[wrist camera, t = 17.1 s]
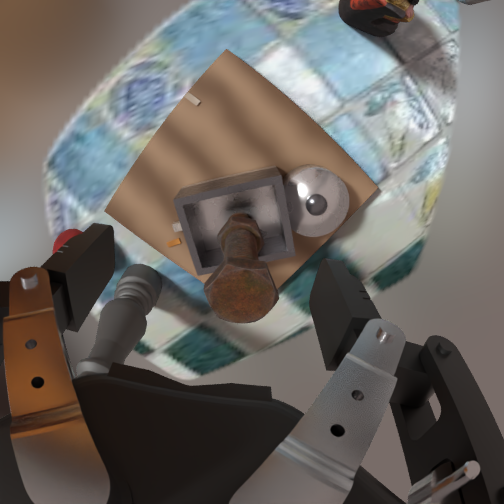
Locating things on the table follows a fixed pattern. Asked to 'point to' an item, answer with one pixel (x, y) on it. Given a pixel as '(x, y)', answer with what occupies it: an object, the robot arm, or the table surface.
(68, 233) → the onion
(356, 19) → the statue
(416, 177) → the table surface
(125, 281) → the candle holder
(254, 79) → the wooden cutting board
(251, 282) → the bolt
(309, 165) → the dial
